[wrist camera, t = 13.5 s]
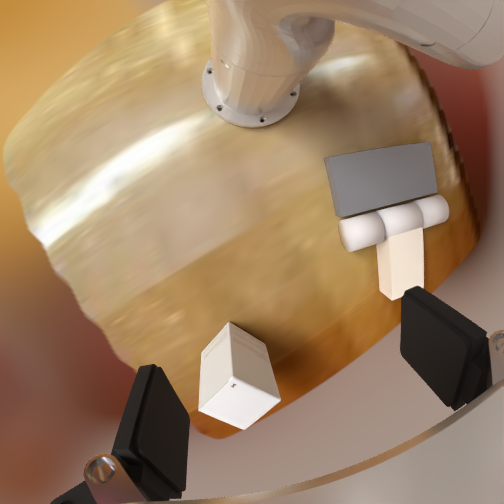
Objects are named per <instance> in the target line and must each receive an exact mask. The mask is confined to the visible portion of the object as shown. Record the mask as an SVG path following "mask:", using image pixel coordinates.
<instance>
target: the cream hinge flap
mask: <svg viewBox="0 0 504 504" xmlns="http://www.w3.org/2000/svg"><path fill="white" fill-rule="evenodd" d="M375 213H377V214H378V215H379V217H380V218H381V220H382V222H383V225H384V230H385V237H384V240H383V242H381V243H378V244H376V246H377V257H378V270H379V286H380V291H381V292H382V293H383V294H384V295H386V296H387V297H388V298H389V299H391V300H395V299H397V298H400V297H402V296H403V295H404V292H405V291H406V290H408V289H410V288H413V287H415V286H420V287H421V288H424V249H423V228H422V227H423V222H424V220H423V214H422V211H421V209H420V207H419V206H418V205H417V204H416V203H414V202H410V203H406V204H402V205H398V206H394V207H390V208H386V209H382V210H378V211H376V212H375Z"/></svg>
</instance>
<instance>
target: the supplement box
mask: <svg viewBox="0 0 504 504" xmlns="http://www.w3.org/2000/svg"><path fill="white" fill-rule="evenodd" d="M280 401H281V398H280V395H279V391H278V388H277V384H276V381H275V377H274V373H273V370H272V366H271V363H270V359H269V356H268V352H267V348H266V345H265V344H264V343H263V342H261V341H260V340H258V339H256V338H255V337H253V336H251V335H250V334H248V333H247V332H245V331H243V330H242V329H240V328H239V327H237V326H235V325H234V324H232V323H231V322H228V323H227V324H226V325H225V327H224V328H223V329H222V330H221V331H220V332H219V333H218V334H217V336H216V337H215V338H214V339H213V340H212V341H211V342H210V343H209V345H208V346H207V347H206V348H205V349H204V350H203V351H202V354H201V371H200V389H199V411H201V412H203V413H205V414H207V415H210V416H212V417H214V418H217V419H219V420H221V421H224V422H226V423H228V424H231V425H233V426H236V427H238V428H241V429H243V430H245V429H246V428H247V427H249V426H250V425H251V424H253V423H254V422H255V421H256V420H258V419H259V418H260V417H261V416H263V415H264V414H265V413H266V412H267V411H269V410H270V409H271V408H272V407H274V406H275V405H276V404H277V403H278V402H280Z"/></svg>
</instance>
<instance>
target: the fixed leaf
mask: <svg viewBox="0 0 504 504" xmlns="http://www.w3.org/2000/svg"><path fill="white" fill-rule="evenodd" d="M324 161H325V165H326V169H327V174H328V178H329V183H330V188H331V193H332V198H333V203H334V208H335V213H336V215H337V216H339V217H345V216H349V215H352V214H356V213H360V212H364V211H368V210H371V209H375V208H379V207H383V206H387V205H391V204H394V203H398V202H402V201H406V200H410V199H414V198H418V197H422V196H426V195H429V194H433V193H437V192H438V189H437V181H436V174H435V167H434V161H433V155H432V150H431V145H430V142H424V143H415V144H407V145H399V146H392V147H385V148H379V149H372V150H366V151H360V152H354V153H349V154H343V155H338V156H332V157H327V158H324ZM413 202H414V203H416V204H417V205H418V206H419V207H420V209H421V211H422V214H423V220H424V222H423V227H422V228H423V229H424V228H427V227H430V226H433V225H436V224H439V223H442V222H445V221H446V220H447V219H448V217H449V207H448V204H447V202H446V200H445V199H444V198H443V197H442V196H441V195H435V196H431V197H427V198H424V199H420V200H416V201H413ZM339 235H340V239H341V242H342V244H343V246H344V248H345V249H346V251H347V252H352V251H356V250H359V249H362V248H365V247H369V246H372V245H375V244H378V243H381V242H383V240H384V237H385V230H384V225H383V222H382V220H381V218H380V217H379V215H378V214H377V213H375V212H371V213H367V214H363V215H359V216H356V217H352V218H348V219H344V220H341V221H340V222H339Z"/></svg>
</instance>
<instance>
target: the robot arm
mask: <svg viewBox="0 0 504 504" xmlns="http://www.w3.org/2000/svg"><path fill="white" fill-rule="evenodd" d="M207 5H208V11H209V21H210V35H211V50H212V58H211V59H210V60H209V61H208V63H207V65H206V66H205V68H204V72H203V75H202V91H203V95H204V98H205V100H206V102H207V104H208V106H209V107H210V108H211V110H212V111H213V112H214V113H215V114H216V115H217V116H219V117H220V118H221V119H223V120H225V121H226V122H228V123H231V124H233V125H236V126H240V127H246V128H258V127H264V126H268V125H270V124H273V123H275V122H277V121H279V120H280V119H282V118H283V117H284V116H286V115H287V114H288V113H289V112H290V111H291V110H292V109H293V107H294V105H295V104H296V102H297V100H298V97H299V93H300V81H301V80H302V79H303V78H304V77H305V76H306V75H307V74H308V72H309V71H310V70H311V69H312V68H313V67H314V66H315V65H316V64H317V63H318V62H319V60H320V59H321V58H322V57H323V56H324V55H325V53H326V52H327V51H328V49H329V48H330V46H331V44H332V41H333V39H334V35H335V21H337V22H341V23H345V24H348V25H351V26H355V27H358V28H364V29H367V30H370V31H372V32H375V33H378V34H380V35H383V36H386V37H388V38H391V39H393V40H396V41H398V42H400V43H403V44H405V45H407V46H409V47H412V48H414V49H416V50H418V51H420V52H423V53H425V54H427V55H429V56H431V57H433V58H435V59H438V60H440V61H442V62H444V63H446V64H449V65H452V66H455V67H460V68H465V69H478V68H483V67H487V66H489V65H491V64H493V63H495V62H496V61H498V60H499V59H501V58H502V57H503V56H504V0H207ZM209 72H212V73H211V74H208V73H209ZM290 94H293V97H292V96H291V95H290ZM219 108H221V109H222V111H218V109H219ZM260 119H263V120H264V122H261V121H260ZM486 334H487V332H486V331H485V330H483V329H482V328H480V327H479V326H478V325H476V324H475V323H473V322H472V321H471V320H469V319H468V318H466V317H465V316H463V315H462V314H461V313H459V312H458V311H456V310H455V309H453V308H452V307H450V306H449V305H447V304H446V303H444V302H443V301H441V300H440V299H438V298H437V297H435V296H434V295H432V294H431V293H429V292H428V291H426V290H425V289H423V288H421V287H420V286H415V287H413V288H410V289H408V290H406V291H405V292H404V295H403V296H402V298H401V342H400V351H401V355H402V357H403V358H404V359H405V360H406V361H407V362H408V363H409V364H410V366H411V367H412V368H413V369H414V370H415V371H416V372H417V373H418V374H419V376H420V377H421V378H422V379H423V380H424V381H425V382H426V383H427V385H428V386H429V387H430V388H431V389H432V390H433V391H434V392H435V394H436V395H437V396H438V397H439V398H440V400H441V401H442V402H443V403H444V404H445V405H446V406H447V407H450V406H451V408H452V409H453V410H454V411H456V410H457V409H459V408H460V407H462V406H463V405H465V403H466V404H467V405H466V406H465V407H463V408H462V409H460V410H459V411H457V412H456V413H454V414H453V415H451V416H450V417H448V418H446V419H445V420H443V421H442V422H440V423H438V424H437V425H435V426H433V427H432V428H430V429H428V430H427V431H425V432H423V433H421V434H420V435H418V436H416V437H414V438H412V439H411V440H409V441H407V442H405V443H403V444H401V445H399V446H397V447H395V448H393V449H391V450H388V451H386V452H384V453H382V454H380V455H378V456H376V457H373V458H371V459H369V460H366V461H364V462H361V463H358V464H356V465H353V466H351V467H349V468H345V469H343V470H340V471H337V472H334V473H331V474H328V475H325V476H322V477H319V478H316V479H312V480H309V481H305V482H301V483H298V484H294V485H290V486H285V487H281V488H277V489H272V490H267V491H262V492H257V493H251V494H245V495H238V496H231V497H222V498H212V499H200V500H184V501H169V499H181V496H182V491H185V489H186V474H187V456H188V440H189V439H188V438H189V427H190V418H189V415H188V412H187V411H186V409H185V408H184V406H183V404H182V403H181V401H180V399H179V398H178V396H177V394H176V393H175V391H174V389H173V387H172V386H171V384H170V382H169V380H168V379H167V377H166V375H165V373H164V371H163V369H162V368H161V367H157V366H156V365H155V364H151V365H145V366H140V367H139V369H138V372H137V375H136V378H135V381H134V383H133V386H132V389H131V392H130V395H129V398H128V401H127V404H126V407H125V410H124V413H123V416H122V420H121V422H120V425H119V429H118V432H117V436H116V438H115V442H114V446H113V449H112V453H111V455H110V454H99V455H97V456H94V457H93V458H92V459H90V460H89V461H88V462H87V464H86V466H85V468H84V473H83V475H84V479H85V481H83V482H82V483H80V484H79V485H77V486H76V487H74V488H72V489H71V490H69V491H67V492H66V493H64V494H63V495H61V496H59V497H58V498H56V499H54V500H53V501H52V502H51V504H504V330H499V331H496V332H494V333H493V334H492V335H491V336H490V338H489V339H488V338H487V337H486Z"/></svg>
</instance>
